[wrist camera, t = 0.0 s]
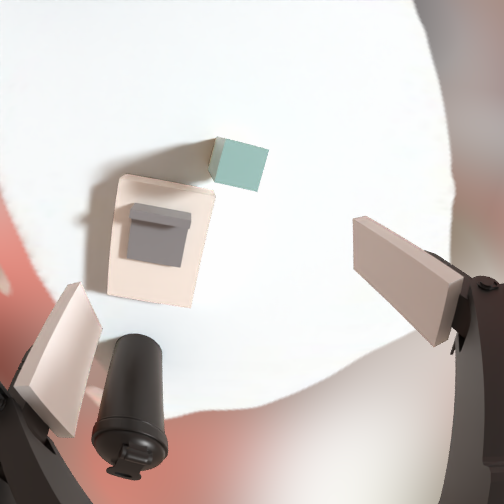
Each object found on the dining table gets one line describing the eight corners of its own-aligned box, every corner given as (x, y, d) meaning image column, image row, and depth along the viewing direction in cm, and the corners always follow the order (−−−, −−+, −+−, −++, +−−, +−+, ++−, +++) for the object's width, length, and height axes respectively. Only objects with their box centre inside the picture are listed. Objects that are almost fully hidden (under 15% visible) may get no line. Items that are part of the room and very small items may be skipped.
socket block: (125, 173, 36) (119, 178, 33) (213, 190, 40) (215, 196, 36) (112, 280, 42) (107, 294, 38) (189, 293, 45) (190, 308, 41)
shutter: (134, 202, 34) (130, 209, 31) (191, 212, 36) (191, 220, 33) (127, 255, 36) (123, 266, 33) (180, 264, 38) (180, 276, 35)
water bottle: (103, 359, 47) (83, 470, 26) (120, 320, 44) (96, 441, 24) (154, 379, 50) (154, 489, 30) (176, 343, 48) (182, 464, 27)
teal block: (214, 136, 37) (225, 138, 26) (245, 143, 38) (269, 149, 27) (206, 166, 38) (214, 182, 27) (237, 173, 39) (257, 191, 29)
